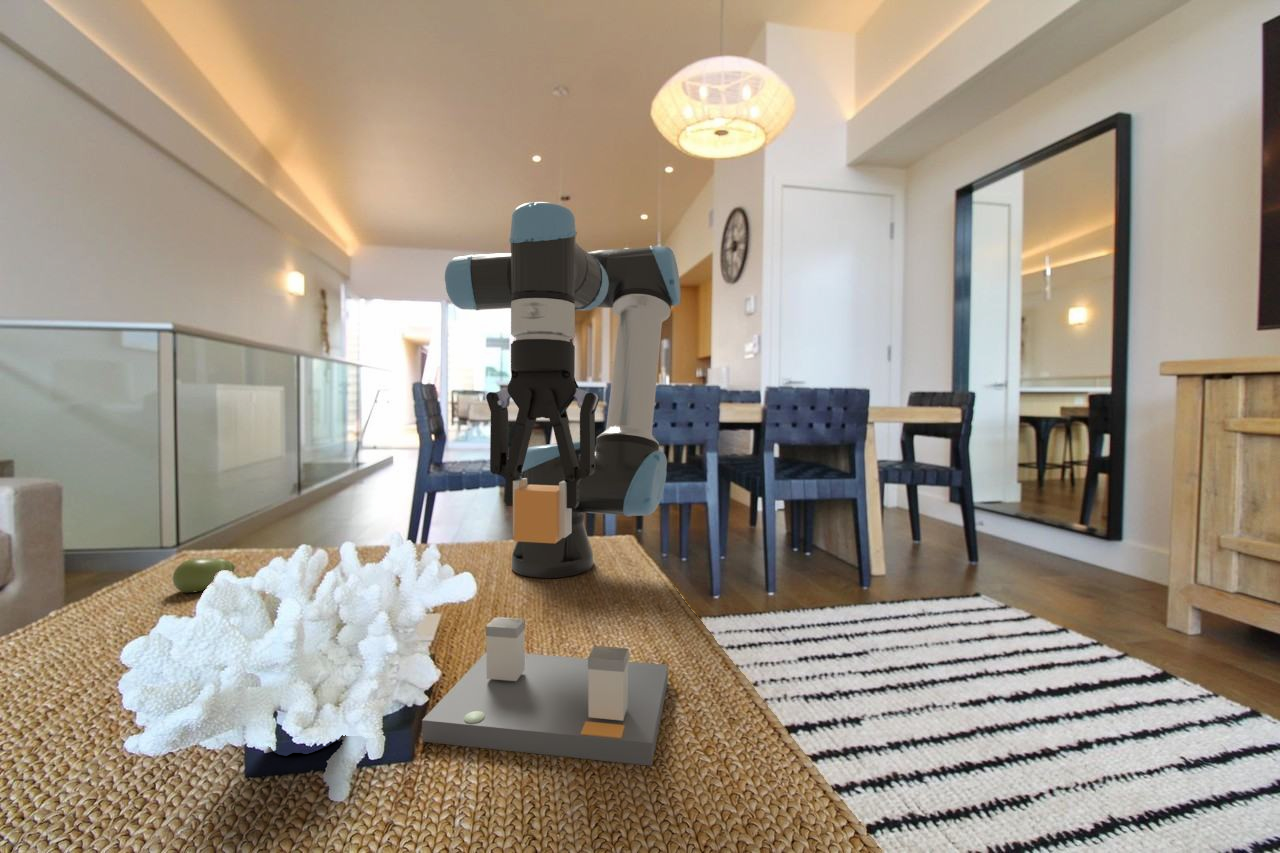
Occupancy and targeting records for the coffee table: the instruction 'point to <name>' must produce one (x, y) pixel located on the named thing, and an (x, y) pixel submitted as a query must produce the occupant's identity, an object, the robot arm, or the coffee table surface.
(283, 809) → the coffee table surface
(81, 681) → the coffee table surface
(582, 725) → the plate
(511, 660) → the block
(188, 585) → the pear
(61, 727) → the coffee table surface
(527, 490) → the block
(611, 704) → the block
